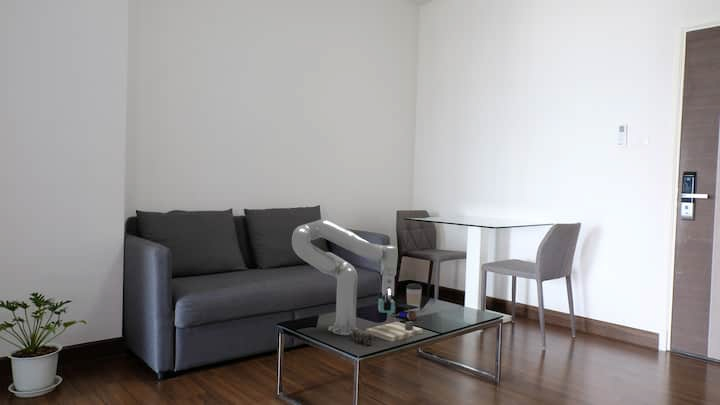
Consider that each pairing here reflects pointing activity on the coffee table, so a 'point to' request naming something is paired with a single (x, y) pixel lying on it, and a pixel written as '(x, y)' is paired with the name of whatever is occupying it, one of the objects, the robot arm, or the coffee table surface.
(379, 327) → the hub board
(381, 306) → the teal drawer cube
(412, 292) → the coffee cup
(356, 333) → the rhino figurine
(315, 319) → the coffee table surface
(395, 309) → the figurine character
